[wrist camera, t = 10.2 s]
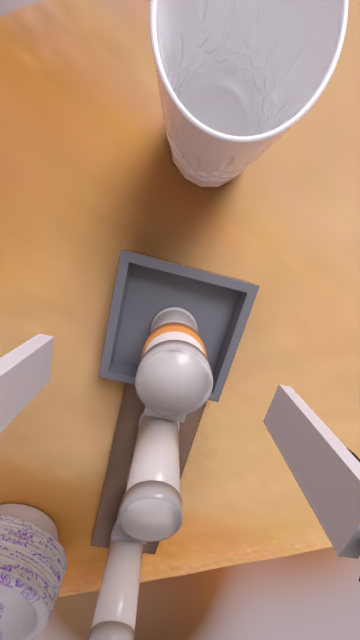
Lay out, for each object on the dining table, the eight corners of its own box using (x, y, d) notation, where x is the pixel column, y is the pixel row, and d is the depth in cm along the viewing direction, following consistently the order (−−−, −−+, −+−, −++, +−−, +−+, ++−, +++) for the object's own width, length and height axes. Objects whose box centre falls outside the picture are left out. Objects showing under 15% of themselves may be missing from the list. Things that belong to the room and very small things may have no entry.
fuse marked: (147, 342, 23) (127, 408, 13) (156, 300, 22) (143, 338, 12) (190, 352, 23) (201, 423, 14) (202, 311, 22) (224, 357, 12)
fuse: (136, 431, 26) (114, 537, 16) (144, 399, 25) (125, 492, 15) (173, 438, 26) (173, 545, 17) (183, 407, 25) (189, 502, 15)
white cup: (214, 215, 20) (252, 182, 11) (142, 150, 19) (109, 41, 9) (278, 133, 18) (390, 6, 9) (204, 54, 17) (245, -205, 7)
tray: (106, 364, 24) (98, 377, 22) (127, 250, 21) (120, 249, 18) (213, 387, 25) (218, 401, 23) (250, 282, 22) (259, 286, 19)
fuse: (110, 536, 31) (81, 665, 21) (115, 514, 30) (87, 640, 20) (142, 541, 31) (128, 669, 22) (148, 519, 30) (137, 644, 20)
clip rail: (92, 540, 32) (82, 575, 28) (128, 373, 24) (121, 393, 21) (155, 548, 33) (152, 584, 29) (208, 390, 25) (213, 412, 22)
